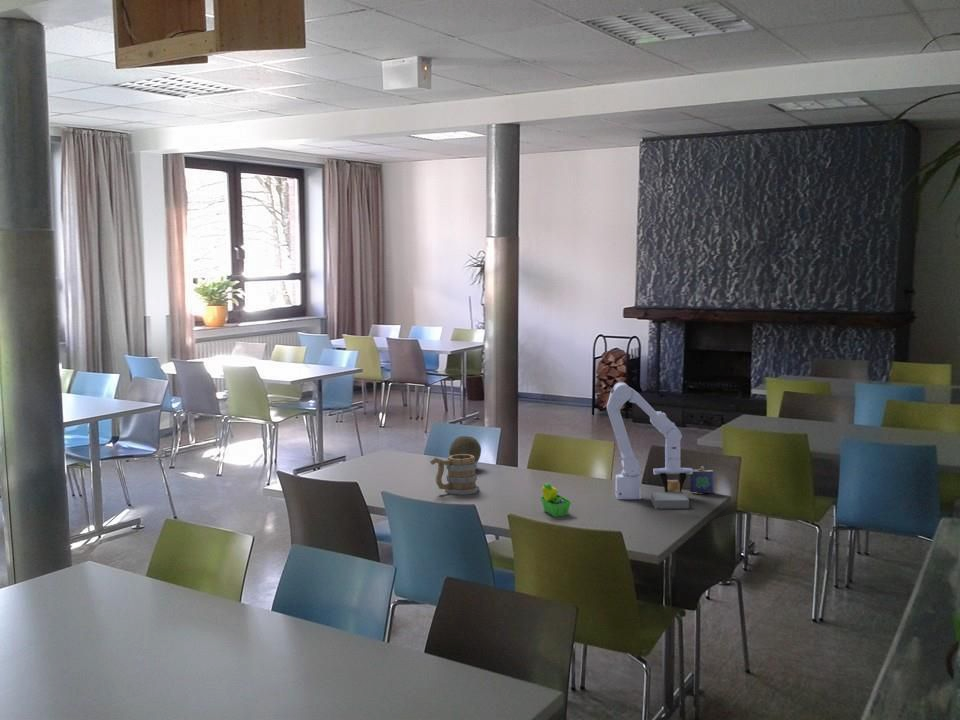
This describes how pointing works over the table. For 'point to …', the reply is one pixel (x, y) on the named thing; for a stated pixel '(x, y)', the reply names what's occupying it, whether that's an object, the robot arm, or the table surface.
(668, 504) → the base block
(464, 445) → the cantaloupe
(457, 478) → the tankard
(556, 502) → the fruit basket
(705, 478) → the flask
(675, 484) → the oak block
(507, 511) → the table surface
